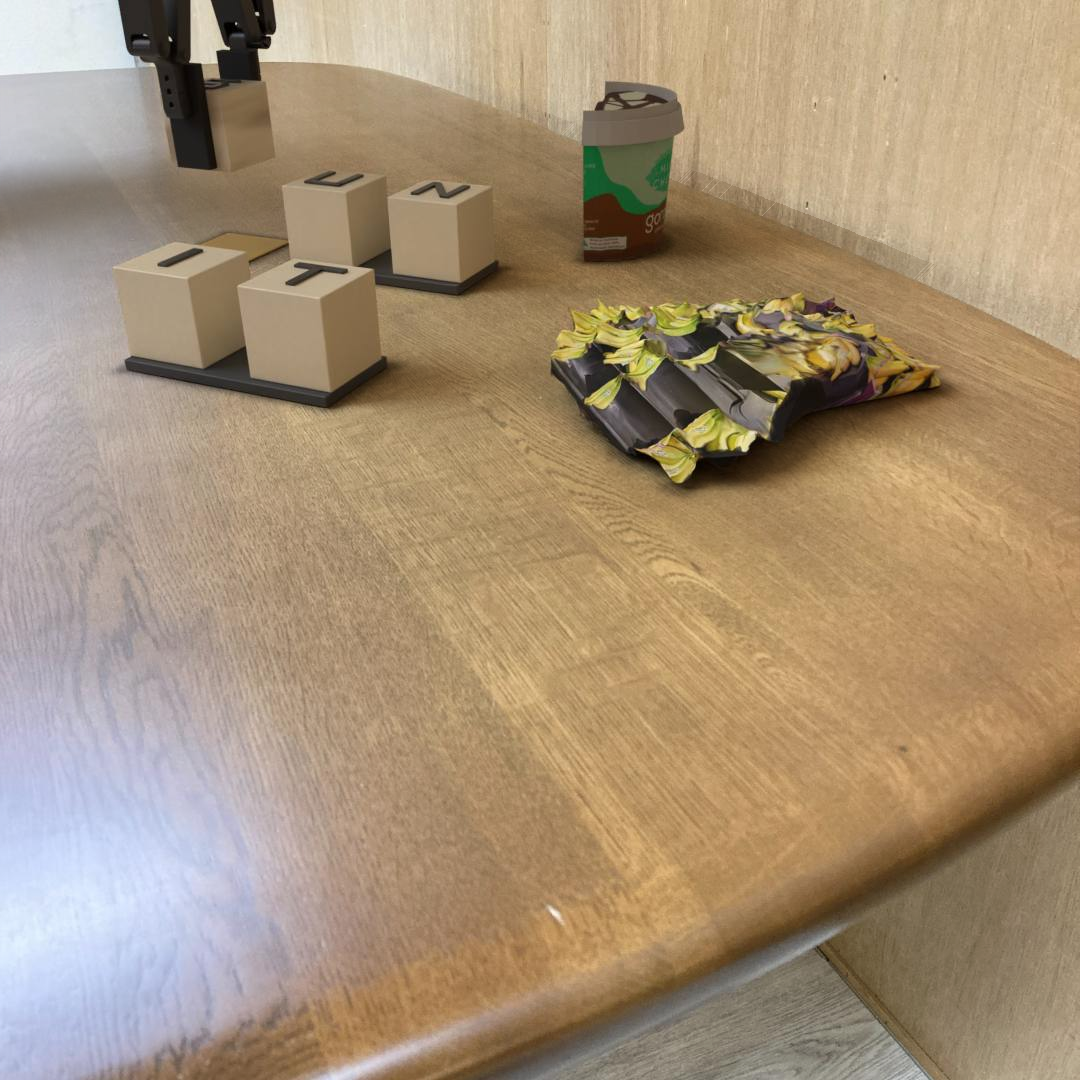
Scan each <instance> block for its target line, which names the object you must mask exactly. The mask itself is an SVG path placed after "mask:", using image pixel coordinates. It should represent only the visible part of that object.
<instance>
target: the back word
mask: <svg viewBox="0 0 1080 1080" xmlns="http://www.w3.org/2000/svg"><path fill="white" fill-rule="evenodd" d="M493 189H494V188H493V186H492V185H486V184H485V185H483V184H474V183H464V182H455V181H444V180H435V179H424V180H421V181H419V182H417V183H415V184H413V185H410V186H409V187H407V188H404V189H402V190H399V191H397V192H395V193H393V194H391V195H388V184H387V175H385V174H377V173H368V172H358V171H349V170H348V171H347V170H338V169H330V168H329V169H327V168H323V169H320V170H317V171H315V172H313V173H310V174H307V175H305V176H302V177H300V178H297V179H295V180H292V181H290V182H287V183H284V184H282V185H281V192H282V193H281V194H282V199H283V207H284V215H285V223H286V224H285V225H286V231H287V232H286V233H287V239H280V238H272V237H264V236H256V235H248V234H241V233H234V232H227V233H224V234H222V235H220V236H217V237H215V238H212V239H209V240H207V241H205V242H202V243H201V244H199V245H201V246H208V247H215V248H223V249H230V250H237V251H244V252H247V254H248V261H249V262H251V261H253V260H256V259H258V258H260V257H262V256H264V255H266V254H269V253H271V252H273V251H276V250H277V249H279V248H282V247H284V246H286V245H288V250H289V256H290V260H292V259H294V258H296V259H303V260H310V261H317V262H325V263H332V264H339V265H347V266H354V267H361V268H369V269H374V276H375V284H378V285H384V286H393V287H399V288H405V289H406V288H407V289H412V290H413V289H414V290H419V291H420V290H421V291H427V292H434V293H441V294H448V295H455V296H457V295H460V294H461V293H463V292H464V291H466V290H467V289H469V288H471V287H472V286H474V285H475V284H477V283H478V282H480V281H481V280H483V279H485V278H486V277H487V276H489V275H490V274H492V273H494V272H495V271H497V270H498V269H499V259H496V257H495V224H494V221H495V219H494V191H493Z"/></svg>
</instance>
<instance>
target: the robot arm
mask: <svg viewBox="0 0 1080 1080" xmlns="http://www.w3.org/2000/svg"><path fill="white" fill-rule="evenodd" d="M191 1H192V0H117V2H118V10H119V16H120V20H121V26H122V31H123V37H124V42H125V48H126V51H127V52H128V54H129V55H131V56H132V57H138V58H139V59H140V60H141V61H142V63H148V64H153V65H154V66H155V68H156V74H157V78H158V85H159V89H160V91H161V93H162V94H161V97H162V100H163V101H162V102H163V108H164V111H165V114H166V116H167V117H168V118H170V124H171V130H172V135H173V141H174V147H175V153H176V159H177V164H178V167H177V168H181V167H183V169H191V168H193V169H192V170H201V169H203V170H202V171H211V170H213V169H216V168H217V162H216V156H215V150H214V143H213V137H212V130H211V124H210V117H209V111H208V104H207V98H206V89H205V83H204V78H205V77H204V71H203V64H202V63H201V62H190V61H191V59H192V47H191V46H192V19H191V18H192V17H191V16H192V12H191V11H192V9H191V8H192V7H191V6H192V2H191ZM210 3H211V7H212V9H213V12H214V16H215V19H216V23H217V26H218V28H219V33H220V35H221V39H222V42H223V44H224V46H225V47H227V48H229V49H219V50H216V52H215V53H216V60H217V66H218V74H219V78H221V79H237V80H252V81H262V74H261V65H260V58H259V50H269V49H270V47H271V45H272V36H273V35H275V33H276V32H277V21H276V12H275V5H274V0H210ZM257 13H258V15H257ZM170 39H171V40H170Z"/></svg>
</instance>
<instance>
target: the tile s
mask: <svg viewBox="0 0 1080 1080" xmlns="http://www.w3.org/2000/svg"><path fill="white" fill-rule="evenodd" d="M204 83H205V89H206V98H207V104H208V111H209V117H210V124H211V130H212V137H213V143H214V150H215V156H216V162H217V168H216V169H213V170H210V172H211V171H212V172H222V173H234V172H237V171H239V170H242V169H245V168H249V167H251V166H254V165H257V164H260V163H263V162H265V161H268V160H271V159H274V158H276V151H275V143H274V134H273V129H272V120H271V119H272V118H271V112H270V105H269V97H268V89H267V82H266V81H264V80H261V81H252V80H237V79H221V78H220V77H204ZM158 93H159V99H160V104H161V110H162V116H163V122H164V128H165V134H166V139H167V144H168V150H169V155H170V162H171V167H173V168H179V167H178V164H177V159H176V153H175V147H174V141H173V135H172V130H171V124H170V118H168V117H167V116H166V114H165V111H164V108H163V102H162V101H163V100H162V97H161V94H162V93H161V91H160V88H159V89H158ZM180 168H181V169H182V168H183V167H180ZM183 169H184V168H183ZM190 169H192V170H194V169H193V168H190ZM200 170H202V171H204V170H203V169H200Z"/></svg>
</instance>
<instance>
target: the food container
mask: <svg viewBox="0 0 1080 1080" xmlns="http://www.w3.org/2000/svg"><path fill="white" fill-rule="evenodd" d="M684 130H685V121H684V115H683V108H682V104H681V102H679V100H678V93H677V92H676V91H674V90H672V89H671V88H667V87H663V86H659V85H654V84H650V83H641V82H630V81H615V80H613V81H611V80H605V81H604V98H603V100H601V101H597V103H596V104H595V107H594V110H585V109H584V110H582V124H581V146H582V194H583V195H582V202H583V203H582V210H583V211H582V212H583V213H582V214H583V216H582V217H583V219H582V220H583V221H582V222H583V223H582V224H583V225H582V226H583V227H582V231H583V235H582V237H583V243H582V244H583V245H582V246H583V248H582V250H583V254H582V255H583V262H610V261H624V260H628V259H634V258H639V257H643V256H646V255H649V254H652V253H654V252H655V251H657V250H658V249H660V248H661V246H662V243H663V235H664V227H665V218H666V217H665V216H666V209H667V199H668V192H669V182H670V176H671V168H672V167H671V166H672V158H673V150H674V140H675V136H678V135H679V134H681V133H683V131H684Z"/></svg>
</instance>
